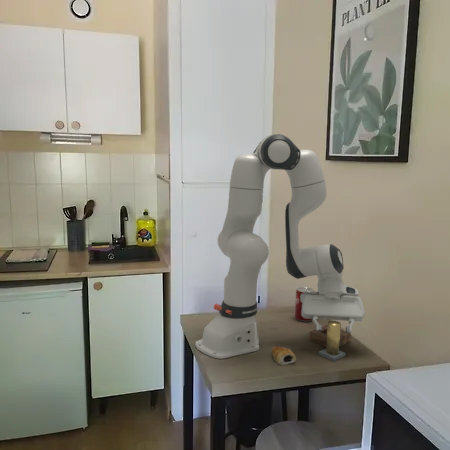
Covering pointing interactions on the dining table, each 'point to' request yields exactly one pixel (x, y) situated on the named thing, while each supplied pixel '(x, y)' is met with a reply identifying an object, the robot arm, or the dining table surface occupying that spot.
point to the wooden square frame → (322, 336)
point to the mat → (331, 357)
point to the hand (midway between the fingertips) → (333, 331)
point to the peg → (333, 337)
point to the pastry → (283, 355)
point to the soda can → (299, 304)
